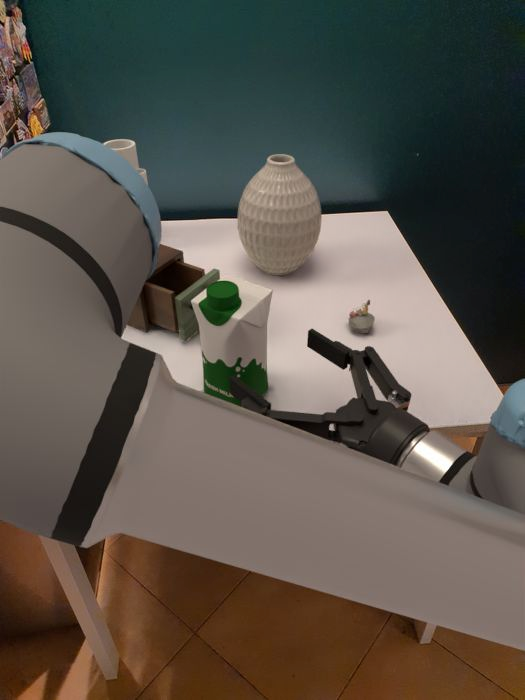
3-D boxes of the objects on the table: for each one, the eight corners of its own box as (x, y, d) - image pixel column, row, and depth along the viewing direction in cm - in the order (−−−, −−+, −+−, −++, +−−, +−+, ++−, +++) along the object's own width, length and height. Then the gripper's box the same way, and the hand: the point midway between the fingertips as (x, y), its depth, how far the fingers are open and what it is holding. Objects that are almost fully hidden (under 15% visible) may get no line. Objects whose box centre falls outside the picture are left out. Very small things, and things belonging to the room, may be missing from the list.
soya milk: (195, 401, 77) (182, 287, 64) (230, 367, 83) (224, 256, 70) (244, 425, 73) (240, 309, 60) (277, 387, 79) (280, 274, 66)
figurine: (370, 339, 88) (375, 310, 84) (344, 334, 89) (348, 305, 85) (375, 321, 92) (380, 293, 88) (350, 317, 93) (354, 289, 89)
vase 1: (115, 231, 119) (98, 142, 106) (146, 225, 121) (132, 137, 108) (129, 253, 111) (111, 159, 98) (161, 246, 113) (148, 153, 100)
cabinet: (188, 299, 97) (183, 251, 91) (146, 332, 90) (137, 281, 83) (133, 279, 103) (124, 231, 96) (89, 308, 95) (76, 259, 88)
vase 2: (258, 295, 98) (257, 181, 84) (227, 256, 110) (222, 150, 96) (332, 277, 103) (343, 166, 89) (295, 242, 115) (300, 139, 101)
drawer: (242, 317, 91) (240, 276, 86) (206, 350, 84) (202, 308, 79) (167, 290, 98) (162, 250, 93) (128, 318, 91) (120, 277, 86)
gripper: (329, 551, 50) (196, 429, 62) (466, 421, 63) (334, 341, 75) (336, 506, 45) (191, 383, 57) (483, 376, 58) (339, 298, 70)
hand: (272, 359), depth 66 cm, fingers open, 13 cm apart
